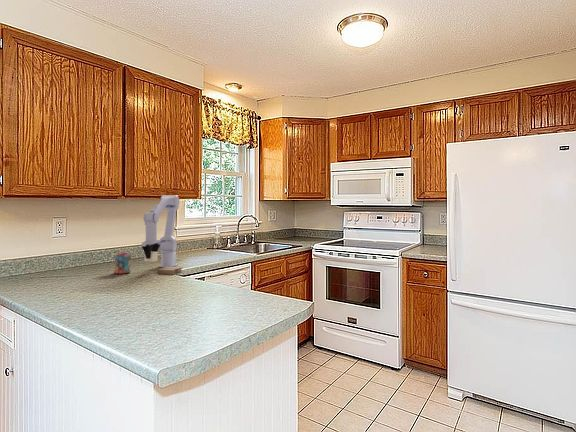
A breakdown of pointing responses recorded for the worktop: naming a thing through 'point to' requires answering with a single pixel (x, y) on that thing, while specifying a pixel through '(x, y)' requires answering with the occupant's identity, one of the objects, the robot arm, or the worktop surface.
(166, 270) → the base slab
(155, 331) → the worktop surface
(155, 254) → the cube
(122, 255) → the mug
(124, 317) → the worktop surface
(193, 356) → the worktop surface
